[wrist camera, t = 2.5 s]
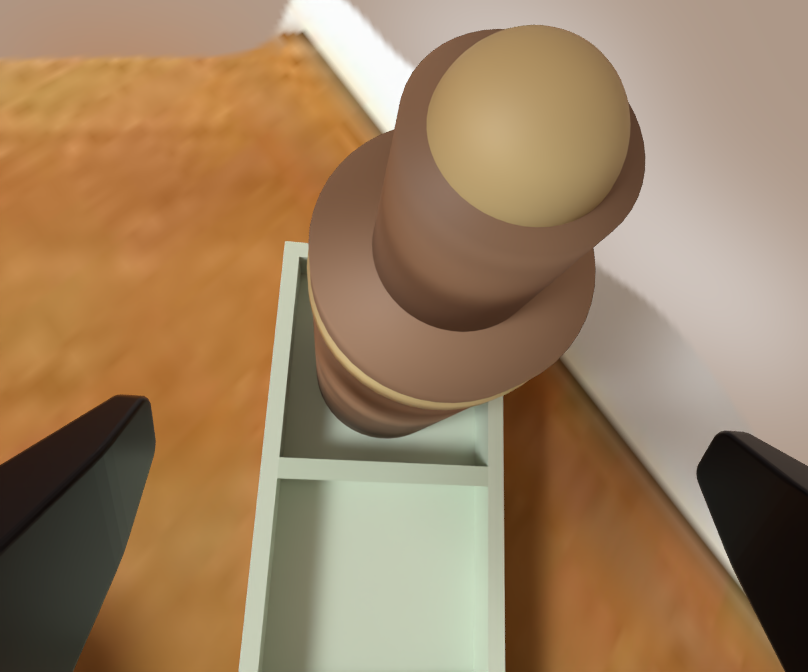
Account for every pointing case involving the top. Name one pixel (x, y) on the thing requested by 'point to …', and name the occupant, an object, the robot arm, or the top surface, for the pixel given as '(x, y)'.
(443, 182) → the pepper mill
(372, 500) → the caddy
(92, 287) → the top surface
